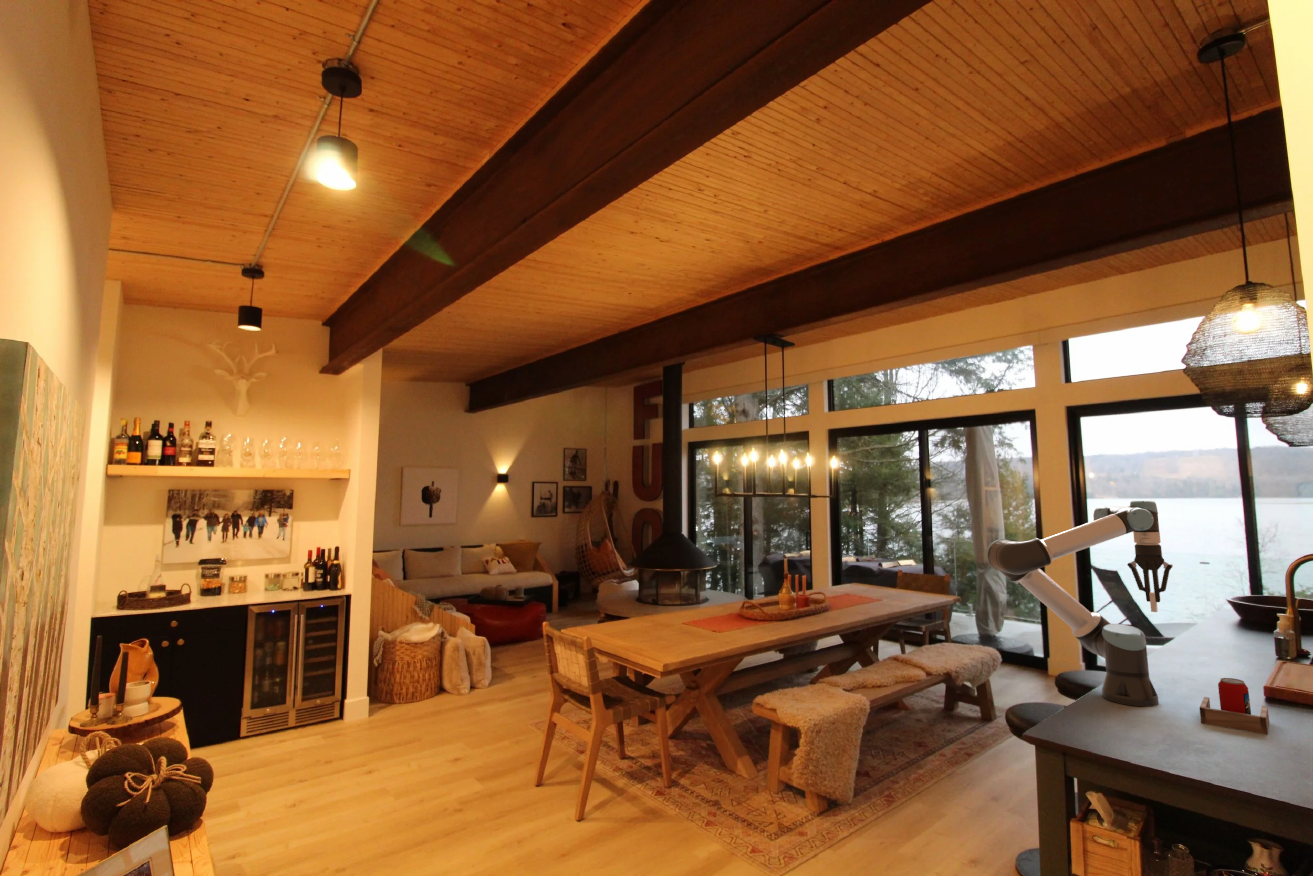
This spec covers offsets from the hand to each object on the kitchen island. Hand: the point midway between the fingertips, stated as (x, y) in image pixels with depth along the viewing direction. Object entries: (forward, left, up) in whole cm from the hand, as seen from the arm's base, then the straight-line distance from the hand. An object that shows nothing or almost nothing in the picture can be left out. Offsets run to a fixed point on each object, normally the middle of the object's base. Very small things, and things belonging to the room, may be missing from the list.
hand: (1154, 611), depth 226 cm
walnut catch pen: (-1, -34, -26) cm, 43 cm away
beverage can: (-1, -33, -27) cm, 43 cm away
